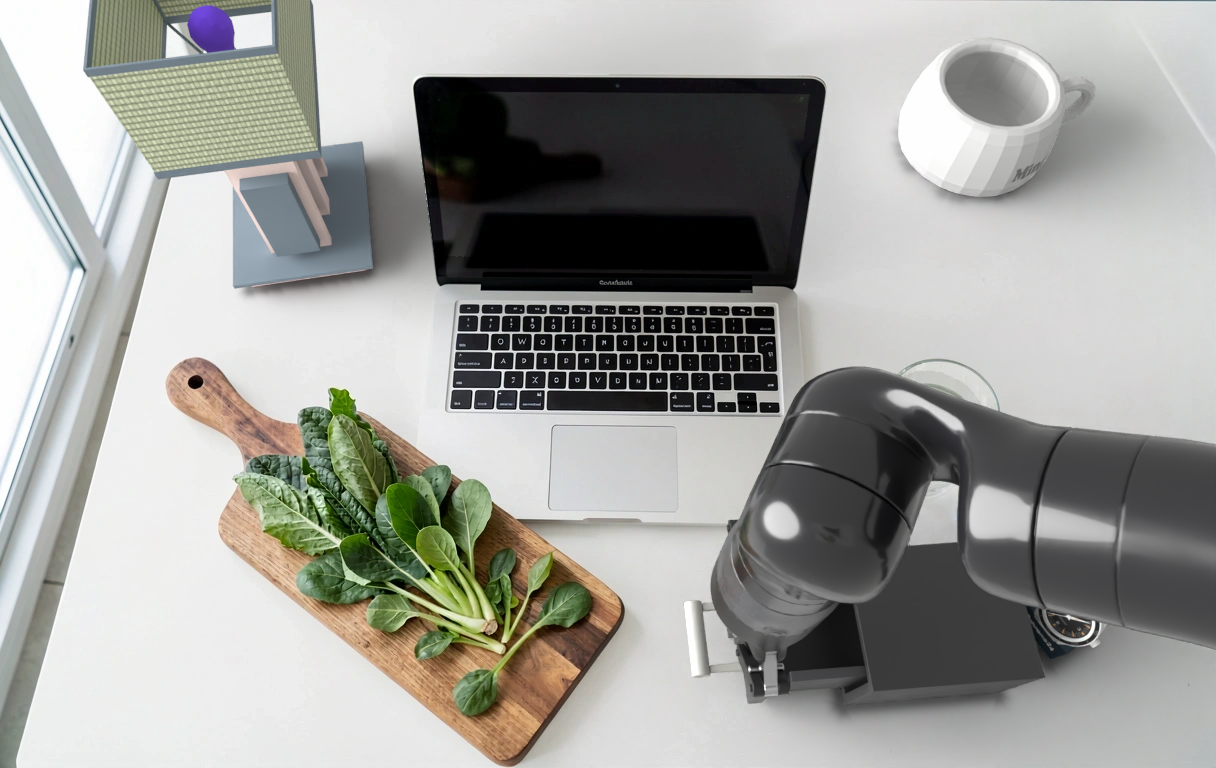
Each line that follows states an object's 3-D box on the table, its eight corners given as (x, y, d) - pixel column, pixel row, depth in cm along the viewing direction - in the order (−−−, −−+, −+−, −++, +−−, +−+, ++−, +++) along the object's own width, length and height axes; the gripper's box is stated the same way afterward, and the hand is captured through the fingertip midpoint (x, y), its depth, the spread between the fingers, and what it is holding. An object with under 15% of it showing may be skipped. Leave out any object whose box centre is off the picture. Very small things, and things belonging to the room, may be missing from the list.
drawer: (689, 708, 76) (698, 698, 70) (677, 591, 81) (684, 571, 74) (892, 692, 77) (920, 680, 70) (869, 577, 81) (893, 556, 75)
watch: (991, 616, 81) (1046, 588, 71) (1058, 571, 83) (1120, 538, 73) (1034, 672, 79) (1096, 651, 69) (1101, 625, 81) (1172, 598, 71)
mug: (921, 217, 100) (954, 157, 91) (872, 103, 107) (897, 37, 98) (1100, 186, 102) (1149, 124, 93) (1040, 76, 109) (1080, 10, 100)
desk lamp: (378, 285, 95) (279, 46, 66) (241, 305, 94) (78, 70, 65) (366, 150, 103) (273, -117, 74) (240, 167, 102) (95, -98, 72)
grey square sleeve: (843, 704, 77) (872, 691, 69) (820, 576, 82) (845, 550, 74) (998, 692, 78) (1045, 677, 70) (967, 565, 83) (1007, 538, 75)
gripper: (860, 680, 53) (801, 713, 68) (819, 468, 58) (774, 542, 74) (732, 691, 52) (703, 721, 68) (704, 476, 58) (683, 549, 74)
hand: (740, 628), depth 71 cm, fingers closed
